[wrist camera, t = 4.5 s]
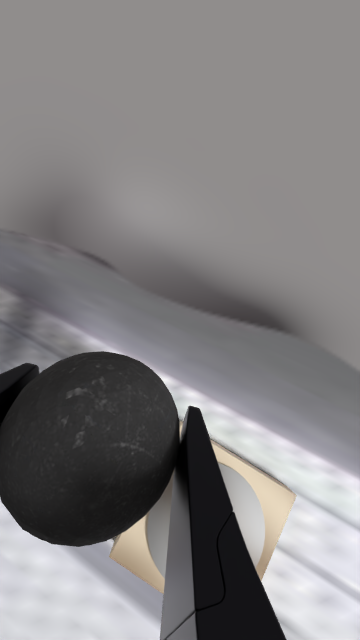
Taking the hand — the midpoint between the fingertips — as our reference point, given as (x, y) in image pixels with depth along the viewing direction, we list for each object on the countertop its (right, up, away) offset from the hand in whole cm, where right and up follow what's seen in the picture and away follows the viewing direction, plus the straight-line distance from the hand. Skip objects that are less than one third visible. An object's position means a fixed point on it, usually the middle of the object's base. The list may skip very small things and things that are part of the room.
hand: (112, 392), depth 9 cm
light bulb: (-1, -3, +6) cm, 7 cm away
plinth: (+4, -11, +9) cm, 15 cm away
